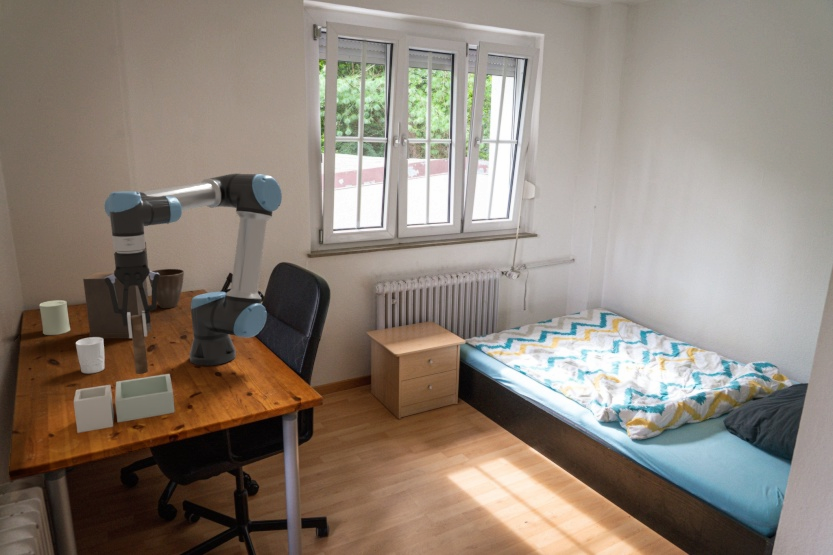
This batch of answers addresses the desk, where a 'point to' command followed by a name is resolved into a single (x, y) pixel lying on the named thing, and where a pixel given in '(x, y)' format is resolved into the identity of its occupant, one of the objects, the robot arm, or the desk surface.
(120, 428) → the desk surface
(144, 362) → the dowel
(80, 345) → the white cup
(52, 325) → the can
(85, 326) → the desk surface
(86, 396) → the pen pot
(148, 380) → the bin
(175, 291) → the plant pot
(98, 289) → the two-tier brown block
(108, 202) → the robot arm
